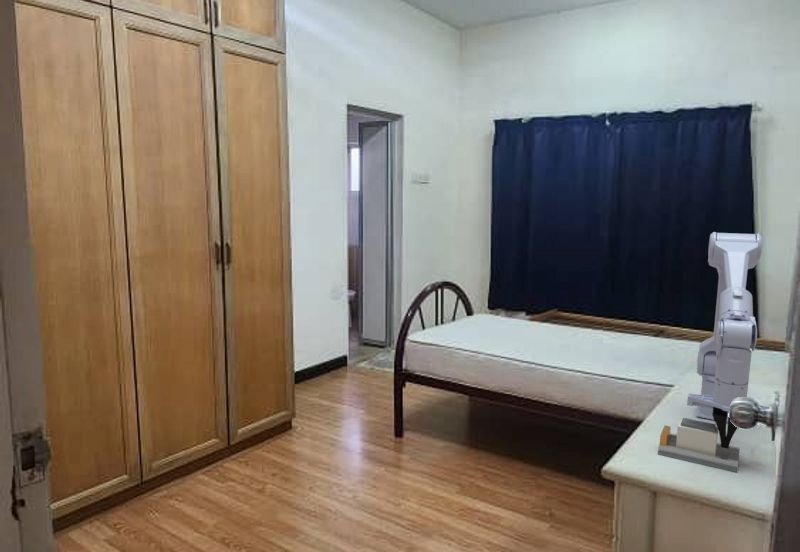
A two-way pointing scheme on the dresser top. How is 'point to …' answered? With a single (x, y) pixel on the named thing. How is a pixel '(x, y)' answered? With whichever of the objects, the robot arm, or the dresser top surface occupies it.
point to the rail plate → (721, 460)
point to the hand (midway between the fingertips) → (724, 446)
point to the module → (697, 436)
